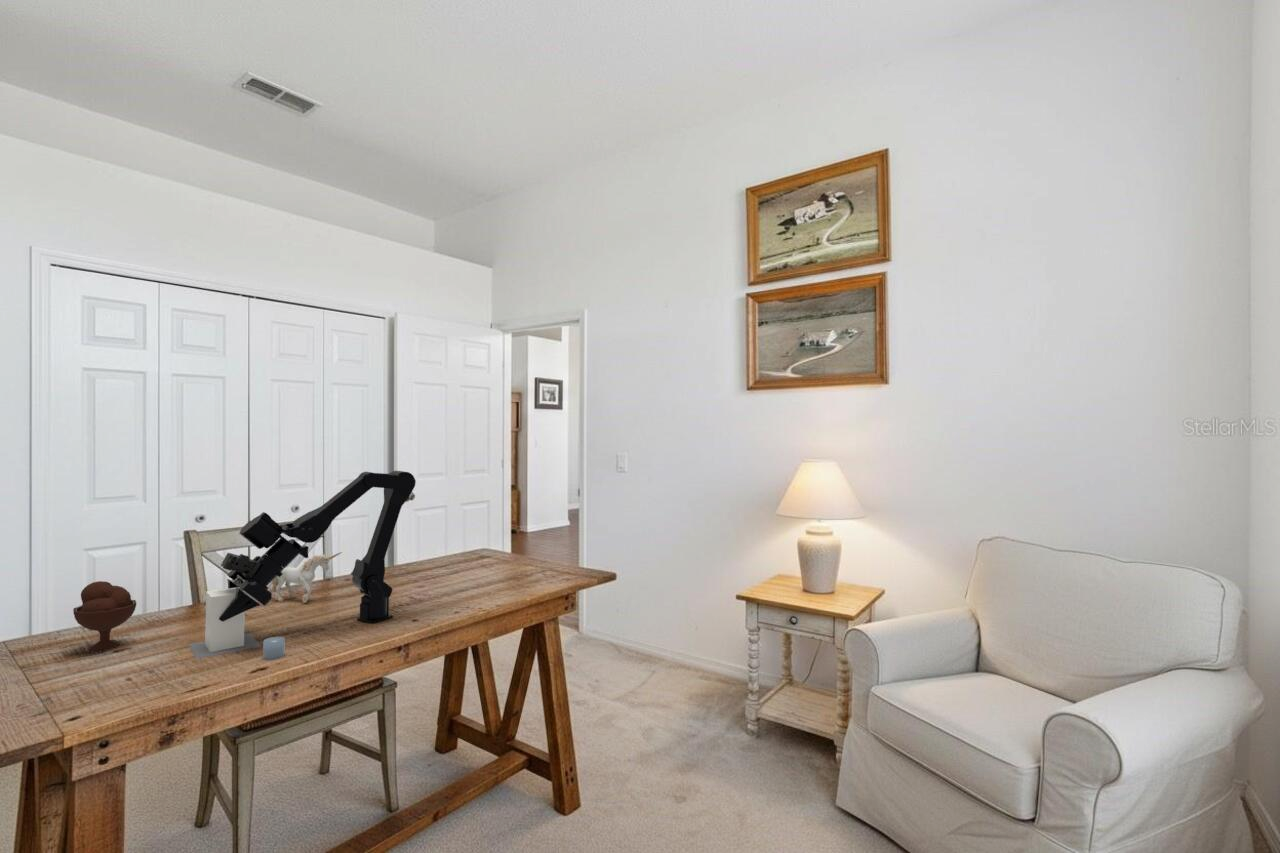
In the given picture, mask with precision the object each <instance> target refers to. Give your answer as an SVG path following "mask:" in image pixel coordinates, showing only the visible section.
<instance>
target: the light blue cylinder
mask: <svg viewBox="0 0 1280 853" xmlns="http://www.w3.org/2000/svg"><path fill="white" fill-rule="evenodd" d="M285 640H286V637H285V636H284V637H283V636H273V637H272V636H271V637H268V638H265V639H264V640H263V641H262V643H263V646H262V648H263V649H262V658H263V660H269V661H270V660H277V659H281V658H283V657H284V656H285V652H286V650H285V646H286V645H285V644H286V641H285Z"/></svg>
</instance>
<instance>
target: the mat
mask: <svg viewBox="0 0 1280 853" xmlns="http://www.w3.org/2000/svg"><path fill="white" fill-rule="evenodd" d="M187 645H188V647H189V648H190V651H191V653H192V654H193V656H194V657H195V659H196V660H199V659H204V658H209V657H213V656H219V655H224V654H231V653H234V652H235V653H236V652H240V651H245V650H249V649H254V648H260V647H262V645H261V644H260V643H259V642H258V641H257V639H256V638H254V637H253V635H252V634H251V633H250V632H248V633H244V646H240V647H235V648H229V649H224V650H219V651H214V652H210V651H209V650H208V648H207V647H206V645H205V640H203V641H199V642H193V643H188V644H187Z"/></svg>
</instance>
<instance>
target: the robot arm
mask: <svg viewBox="0 0 1280 853" xmlns="http://www.w3.org/2000/svg"><path fill="white" fill-rule="evenodd" d="M416 483H417V482H416V478H415V476H414V474H412V473H410V471H404V470H403V471H402V470H393V471H391V472H389V473H384V472H383V473H381V472H380V473H379V472H370V471H363V472H361V473H360V474H359V475H358V476H357V477H356V478H354V480H352V481H351V482H350V483H349V484H347V485H346V486H344V488H343V489H341V490H340V491H339V492H337V493H335V495H334V496H332V497H331V498H330V499H329V500H327V501H326V502H324V503H323V505H321V506H319V507H317V508H316V509H313V510H310V511H308V512H307V513H304V514H302V515H301V516H300V517H298V518H296V519H294V521H293V522H290V523H289V522H288V523H283V524H279V523H277V522H276V521H275V520H274V519H273V517H271V516H270V515H269V514H268V513H267V512H264V511H263V512H262V513H260V515H258V516H256V517H254V518H252V519H251V520H249V521H248V522H246V523H245V525H244V526H242V528H241V529H240V531H239V535H241V536H242V537H243V538H244V539H246V540H247V541H248V542H250V544H252V546H253V545H254V546H255V547H256V548H257V549H259V550H261V549H263V548H264V549H268V550H266V551H265V552H264V553H263V554H262V555H261V556H260V555H258V556H257V555H256V556H255V557H254V558H253V559H251V558H250V556H249V555H245V554H243V553H240V554H239V555H238V554H234V553H232V552H227V553H226V555H225V557H224V559H223V561H222V563H221V565H220V567H222V568H223V569H224V570H227V571H229V573H227V577H228V578H227V580H226V581H227V589H229V588H236V597H235V598H234V599H233V601H232V602H231V603H230V605H229V606H228V607H227V608H226V610H225V611H224V612H223V613H222V615H221V616H220V617H219V620H221V621H225V620H227V619H230V618H232V617H234V616H236V615H238V614H240V613H242V612H245V613H246V611H249V610H251V609H255V607H259V606H261V605H263V606H264V607H265V606H266V605H268V603H269V602H270V601H271V600H273V598H272V594H273V593H271V592H270V590H269V587H268V586H269V585H270V584H271V583H272V581H273V580H274V579H275V578H276V577H277V576H278V577H280V576H281V575H282V574H283V573H281V572H282V571H283V570H284V569H285V568H286V567H289V566H288V565H290V564H291V563H292V562H293V561H294V560H295V559H296V558H297V557H298V556H301V557H302V558H304V559H308V558H309V546H308V545H301V544H300V543H299V542H297V541H296V540H298V541H301V542H302V543H306V544H307V543H309V544H310V543H315V542H317V541H318V540H320V538H321V537H322V536H323V534H324V533H325V532H326V531H327V530H328V529H329V527H330V526H331V525H332V522H333V521H334V520H335V519H336V518H337V517H338V516H339V515H340V514H342V513H343V512H344V511H346V510H347V509H348V508H349V507H350V506H351V505H353V504H354V503H355V502H356V501H358V500H359V499H360V498H361V497H362V496H363V495H365V494H366V493H367V492H368V491H370V490H371V489H372V488H379V489H381V488H382V489H383V500H384V501H383V504H382V508H381V511H380V514H379V517H378V519H377V523H376V525H375V529H374V531H373V533H372V534H373V535H372V538H371V540H370V544H369V546H368V549H367V552H366V554H365V556H364V557H363V558H362V559H361V560H360V559H359V558H358V559H356V560H355V562H354V566H353V567H354V568H353V569H352V571H351V573H350V575H351V576H352V577H351V581H352V583H353V585H354V586H355V587H356V588H358V590H359V592H360V594H363V596H361V597H360V598H361V599H360V604H359V616H357V617H356V620H358V621H362V622H366V623H369V624H375V623H379V622H381V621H385V620H387V619H390V617H391V618H394V615H393V614H390V613H389V612H390V610H389V609H390V608H389V607H390V597H391V594H392V592H393V590H394V589H393V587H391V586H390V585H388V584H387V582H386V581H384V580H385V575H386V564H385V563H386V561H385V560H386V559H385V558H386V555H387V552H388V548H389V547H390V546H389V545H390V543H391V540H392V537H393V535H394V534H393V533H394V531H395V528H396V525H397V523H398V522H397V521H398V519H399V515H400V512H401V509H402V506H403V505H404V504H405V503H406V502H407V501H408V499H409V498H410V496H411V495H412V493H413V490H414V488H415V487H416ZM282 534H283V535H286V536H287V537H289V538H292V539H289V540H288V539H286V538H285V537H284V536H283V535H282ZM293 538H294V539H293ZM295 539H296V540H295ZM237 587H240V588H241V589H242V590H243V591H242V590H240V589H239V588H237Z"/></svg>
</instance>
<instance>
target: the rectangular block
mask: <svg viewBox="0 0 1280 853" xmlns="http://www.w3.org/2000/svg"><path fill="white" fill-rule="evenodd" d="M237 588H239V589H240V590H242V589H241V588H240V587H237ZM242 591H243V590H242ZM205 593H206V594H205V628H204V629H205V632H204V633H205V635H204V641H205V645H206V647H207V648H208V650H209V651H210V652H214V651H219V650H224V649H229V648H235V647H240V646H244V634H245V619H246V618H245V616H246V615H245V613H246V611H245V612H242V613H240V614H238V615H236V616H234V617H232V618H230V619H227V620H225V621H221V620H219V617H220V616H221V615H222V613H223V612H224V611H225V610H226V608H227V607H228V606H229V605H230V603H231V602H232V601H233V599H234V598H235V597H236V588H229V589H228V588H224V589H215V590H207V591H206V592H205Z"/></svg>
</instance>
